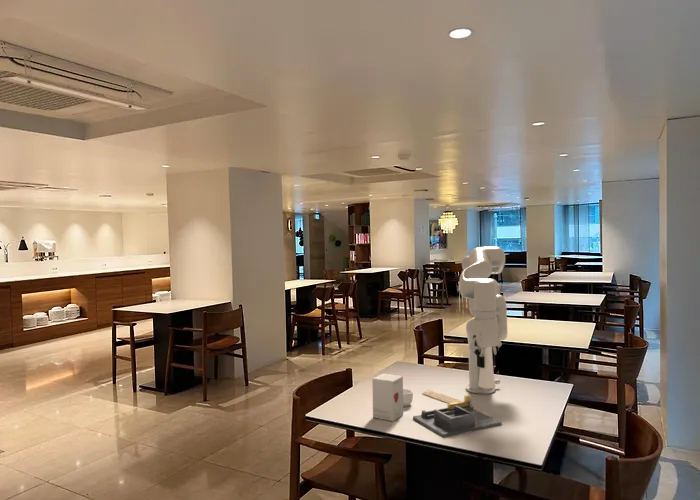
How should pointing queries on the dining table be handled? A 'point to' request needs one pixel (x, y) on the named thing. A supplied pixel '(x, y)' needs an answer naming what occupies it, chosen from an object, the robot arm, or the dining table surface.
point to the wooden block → (461, 403)
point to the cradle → (455, 420)
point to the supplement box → (387, 396)
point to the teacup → (407, 397)
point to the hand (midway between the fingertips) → (486, 365)
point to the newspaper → (440, 397)
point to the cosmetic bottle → (487, 370)
